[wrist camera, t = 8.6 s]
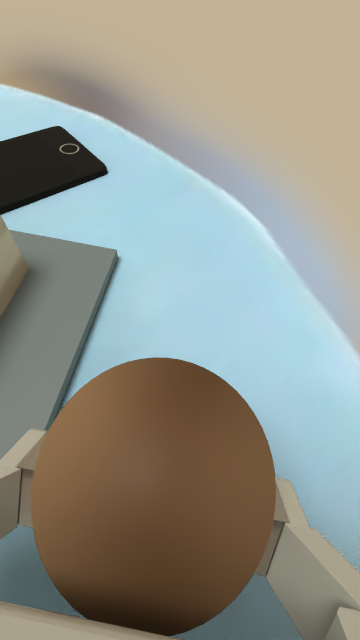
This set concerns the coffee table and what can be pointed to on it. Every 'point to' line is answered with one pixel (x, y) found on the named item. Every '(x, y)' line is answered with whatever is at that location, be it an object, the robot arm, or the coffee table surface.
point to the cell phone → (43, 166)
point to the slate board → (47, 329)
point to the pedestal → (9, 266)
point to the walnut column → (153, 496)
